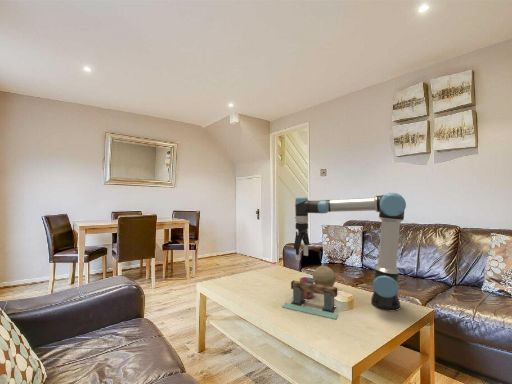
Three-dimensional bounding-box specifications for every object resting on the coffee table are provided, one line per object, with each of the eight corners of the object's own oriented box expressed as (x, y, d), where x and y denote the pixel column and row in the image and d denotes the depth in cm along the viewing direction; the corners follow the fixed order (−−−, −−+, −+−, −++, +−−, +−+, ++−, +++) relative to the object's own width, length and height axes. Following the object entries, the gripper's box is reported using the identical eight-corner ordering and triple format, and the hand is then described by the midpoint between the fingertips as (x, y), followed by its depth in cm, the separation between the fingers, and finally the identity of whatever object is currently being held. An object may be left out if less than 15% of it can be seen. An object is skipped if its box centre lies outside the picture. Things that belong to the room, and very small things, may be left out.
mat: (338, 315, 139) (338, 314, 139) (336, 319, 134) (336, 318, 134) (285, 303, 154) (285, 302, 154) (281, 307, 149) (281, 306, 149)
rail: (337, 294, 146) (337, 287, 146) (335, 297, 143) (335, 289, 143) (293, 286, 159) (293, 280, 159) (291, 288, 156) (291, 282, 156)
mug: (305, 300, 159) (305, 282, 159) (296, 295, 167) (296, 278, 167) (321, 296, 164) (321, 279, 165) (311, 292, 173) (311, 275, 173)
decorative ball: (340, 290, 175) (340, 268, 175) (321, 293, 169) (321, 270, 169) (326, 283, 189) (326, 262, 189) (308, 286, 183) (308, 264, 183)
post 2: (336, 307, 149) (336, 289, 149) (332, 313, 141) (332, 294, 141) (326, 305, 152) (325, 287, 152) (321, 311, 144) (321, 292, 144)
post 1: (305, 301, 158) (305, 284, 158) (300, 306, 150) (300, 288, 150) (296, 299, 161) (296, 282, 161) (290, 304, 153) (290, 287, 153)
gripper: (303, 220, 173) (303, 253, 173) (287, 224, 151) (288, 261, 151) (314, 221, 169) (314, 254, 169) (300, 224, 148) (300, 262, 147)
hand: (302, 257), depth 160 cm, fingers open, 13 cm apart
